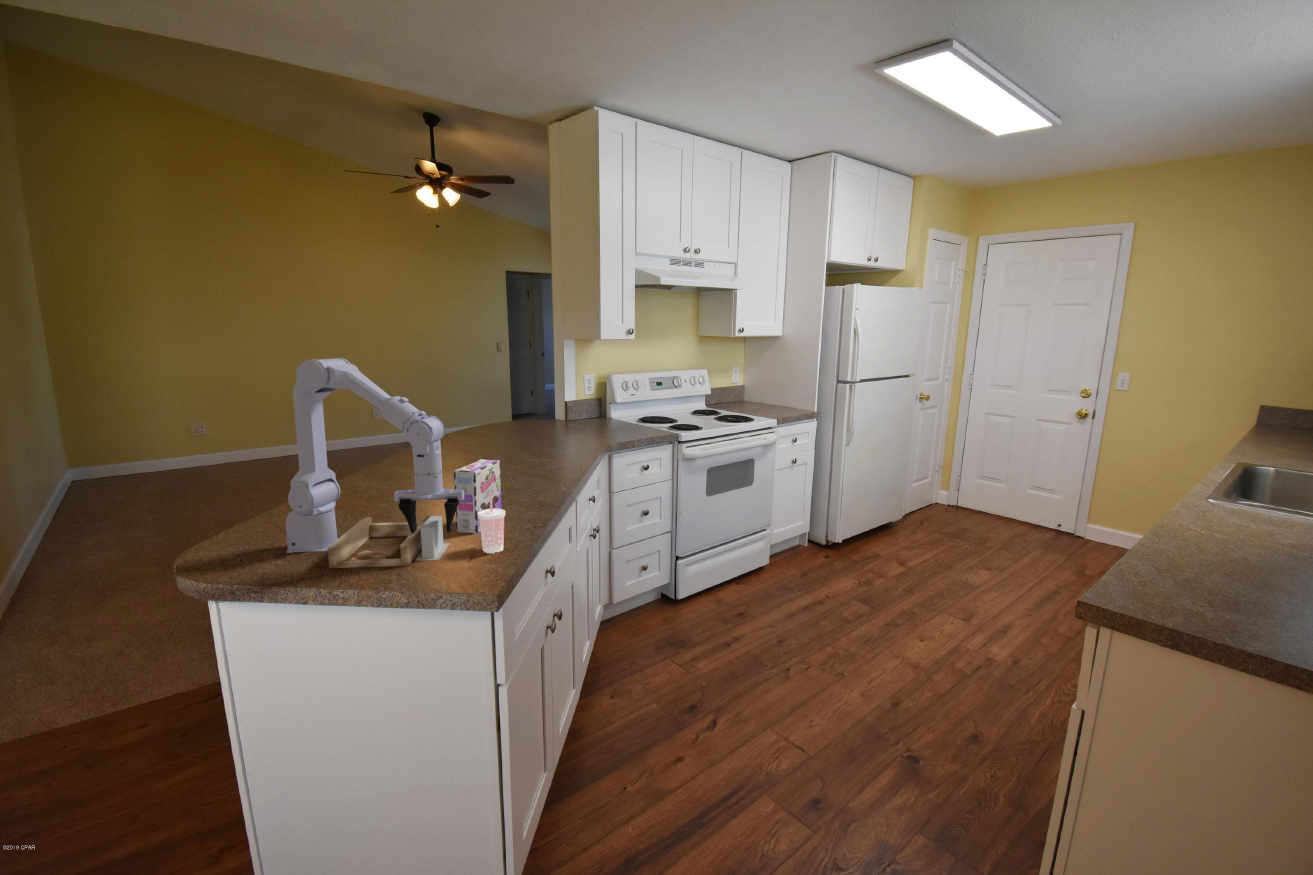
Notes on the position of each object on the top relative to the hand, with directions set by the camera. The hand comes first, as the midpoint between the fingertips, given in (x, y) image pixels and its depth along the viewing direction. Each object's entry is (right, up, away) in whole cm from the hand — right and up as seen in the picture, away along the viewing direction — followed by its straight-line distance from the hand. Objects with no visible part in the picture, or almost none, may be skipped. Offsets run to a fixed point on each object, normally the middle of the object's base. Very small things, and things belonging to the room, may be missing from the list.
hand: (431, 530), depth 128 cm
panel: (0, -5, +1) cm, 5 cm away
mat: (0, -5, +1) cm, 5 cm away
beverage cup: (+13, -5, +4) cm, 14 cm away
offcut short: (-12, -6, -4) cm, 13 cm away
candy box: (+5, -2, +20) cm, 21 cm away
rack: (-11, -5, +2) cm, 12 cm away
